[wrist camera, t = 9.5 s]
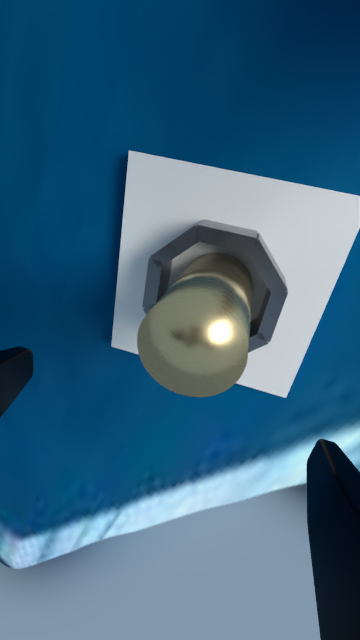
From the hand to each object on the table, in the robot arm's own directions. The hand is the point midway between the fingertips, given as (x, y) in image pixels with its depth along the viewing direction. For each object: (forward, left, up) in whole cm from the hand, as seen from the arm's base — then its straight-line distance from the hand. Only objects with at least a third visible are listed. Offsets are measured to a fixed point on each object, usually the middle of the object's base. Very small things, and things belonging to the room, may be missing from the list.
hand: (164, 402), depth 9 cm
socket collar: (0, 0, -11) cm, 11 cm away
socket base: (0, 0, -12) cm, 12 cm away
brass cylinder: (0, 0, -11) cm, 11 cm away
